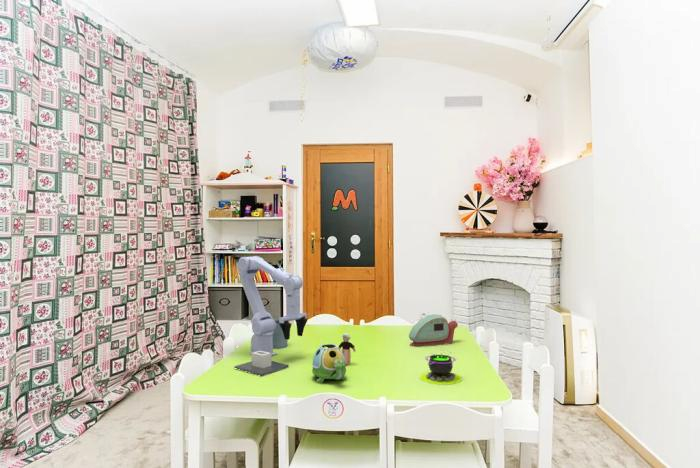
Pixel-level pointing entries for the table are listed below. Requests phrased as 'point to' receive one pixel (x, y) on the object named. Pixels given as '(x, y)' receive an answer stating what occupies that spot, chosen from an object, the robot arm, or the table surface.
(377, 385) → the table surface
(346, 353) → the grandmother figurine
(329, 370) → the turtle holder
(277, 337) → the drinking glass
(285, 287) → the robot arm
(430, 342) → the toy snail
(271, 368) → the duct plate
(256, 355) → the duct sleeve
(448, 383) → the toy cauldron
